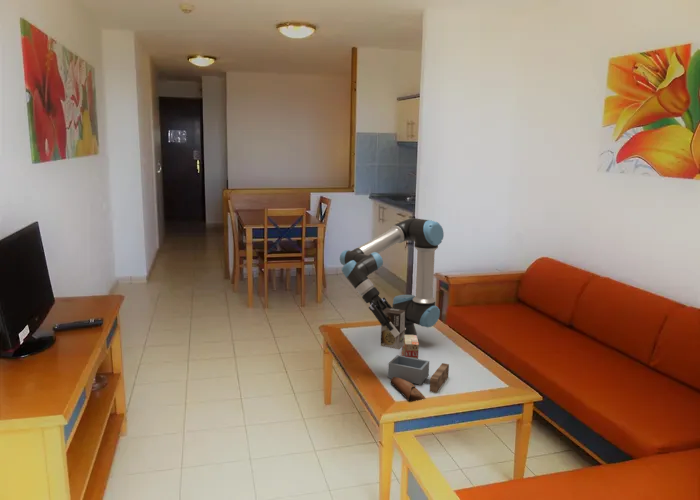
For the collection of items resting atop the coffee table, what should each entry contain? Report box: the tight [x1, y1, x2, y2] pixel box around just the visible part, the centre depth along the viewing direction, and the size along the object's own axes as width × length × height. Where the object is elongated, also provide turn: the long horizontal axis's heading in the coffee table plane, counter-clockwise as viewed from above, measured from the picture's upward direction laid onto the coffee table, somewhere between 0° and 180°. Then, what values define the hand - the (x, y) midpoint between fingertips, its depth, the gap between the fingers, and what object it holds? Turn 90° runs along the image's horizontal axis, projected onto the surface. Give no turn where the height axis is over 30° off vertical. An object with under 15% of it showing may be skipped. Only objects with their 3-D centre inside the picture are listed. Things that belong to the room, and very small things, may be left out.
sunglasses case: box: [390, 377, 427, 402], centre depth 225 cm, size 18×7×7 cm
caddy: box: [387, 354, 430, 385], centre depth 238 cm, size 11×15×7 cm
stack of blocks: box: [401, 335, 420, 359], centre depth 258 cm, size 21×6×12 cm, turn 178°
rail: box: [422, 378, 430, 386], centre depth 238 cm, size 5×20×1 cm, turn 65°
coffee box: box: [380, 307, 406, 350], centre depth 237 cm, size 9×6×16 cm
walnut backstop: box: [429, 362, 450, 394], centre depth 233 cm, size 18×3×6 cm, turn 155°
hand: (400, 333), depth 236 cm, fingers closed on coffee box, 6 cm apart
